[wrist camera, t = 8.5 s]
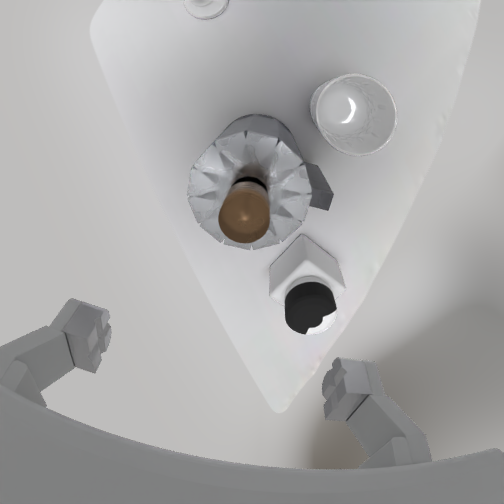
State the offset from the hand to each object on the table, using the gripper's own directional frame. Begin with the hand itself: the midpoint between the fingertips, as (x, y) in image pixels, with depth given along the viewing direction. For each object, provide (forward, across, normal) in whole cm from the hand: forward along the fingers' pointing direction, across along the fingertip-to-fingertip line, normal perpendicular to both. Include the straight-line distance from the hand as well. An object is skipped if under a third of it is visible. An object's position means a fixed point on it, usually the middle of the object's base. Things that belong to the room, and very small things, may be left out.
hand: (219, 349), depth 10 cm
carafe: (+31, -1, 0) cm, 31 cm away
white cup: (+32, -8, -8) cm, 34 cm away
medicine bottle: (+32, -10, +14) cm, 36 cm away
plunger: (+29, 0, 0) cm, 29 cm away
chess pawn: (+32, +10, -18) cm, 38 cm away
